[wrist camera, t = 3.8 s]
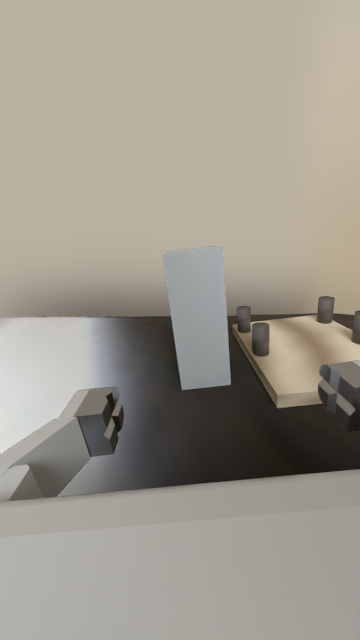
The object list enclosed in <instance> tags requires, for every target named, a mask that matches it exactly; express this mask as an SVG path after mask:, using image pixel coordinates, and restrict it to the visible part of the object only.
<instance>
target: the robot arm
mask: <svg viewBox="0 0 360 640" xmlns="http://www.w3.org/2000/svg"><path fill="white" fill-rule="evenodd" d="M319 375H320V376H321V377H322V378H323V379H322V380H321V381H320V382H319V384H318V394H319V397H320V400H321V402H322V403H323V405H324V406H325V407H326V408H327V409H329V410H331V411H333V412H335V418H336V419H337V420H338V422H339V423H340V424H341V425H342V426H343V427H344V428H345V429H346V430H347V431H360V360H355V361H348V362H342V363H333V364H325V365H322V366H321V367H320V372H319ZM119 396H120V395H119V391H118V388H117V387H105V388H93V389H83V390H79V391H77V392H76V393H75V395H74V396H73V398H72V399H71V401H70V402H69V404H68V405H67V407H66V408H65V409H64V411H63V412H62V414H61V415H60V417H59V418H58V419H54V420H52V421H50V422H49V423H47V424H46V425H44V426H43V427H41V428H40V429H38V430H37V431H35V432H34V433H32V434H31V435H29V436H28V437H26V438H25V439H23V440H22V441H20V442H19V443H17V444H16V445H14V446H13V447H11V448H10V449H8V450H7V451H5V452H4V453H2V454H1V455H0V640H360V469H356V470H345V471H334V472H323V473H312V474H300V475H290V476H279V477H268V478H257V479H246V480H235V481H224V482H214V483H203V484H192V485H181V486H170V487H159V488H148V489H137V490H126V491H115V492H105V493H94V494H83V495H72V496H61V497H57V495H58V494H59V493H60V492H61V491H62V490H63V489H64V488H65V486H66V485H67V484H68V483H69V482H70V481H71V480H72V479H73V477H74V476H75V475H76V474H77V473H78V472H79V471H80V470H81V469H82V467H83V466H84V465H85V464H86V463H87V462H88V461H89V460H90V457H94V456H102V455H110V454H114V451H115V448H116V445H117V442H118V435H117V433H118V432H119V431H120V430H121V429H122V425H123V418H124V414H123V407H122V404H121V403H120V402H118V398H119Z"/></svg>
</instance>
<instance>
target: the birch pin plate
mask: <svg viewBox="0 0 360 640" xmlns="http://www.w3.org/2000/svg"><path fill="white" fill-rule="evenodd" d="M334 299H335V298H334V297H328V296H326V297H325V296H324V297H319V302H318V314H317V315H311V316H302V317H293V318H285V319H276V320H268V321H259V322H251V312H250V311H251V310H250V307H248V306H241V307H237V324H233V325H232V333H233V335H234V336H235V338H236V340H237V341H238V343H239V345H240V346H241V348H242V350H243V351H244V353H245V355H246V357H247V358H248V360H249V362H250V363H251V365H252V367H253V368H254V370H255V372H256V373H257V375H258V377H259V378H260V380H261V382H262V383H263V385H264V387H265V388H266V390H267V392H268V393H269V395H270V397H271V399H272V400H273V402H274V404H275V405H276V407H277V408H284V407H294V406H303V405H313V404H323V403H322V402H321V400H320V397H319V394H318V384H319V382H320V381H321V380H322V379H323V378H322V377H321V376H320V375H319V372H320V367H321V366H322V365H325V364H333V363H342V362H348V361H355V360H360V311H356V312H355V317H354V324H353V331H352V330H350V329H348V328H346V327H344V326H342V325H340V324H338V323H336V322H335V321H333V320H332V318H333V308H334Z"/></svg>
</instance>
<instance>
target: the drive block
mask: <svg viewBox="0 0 360 640" xmlns="http://www.w3.org/2000/svg"><path fill="white" fill-rule="evenodd" d="M223 258H224V257H223V247H216V246H208V247H200V248H192V249H184V250H177V251H169V252H166V253H164V254H163V263H164V268H165V269H164V270H165V276H166V284H167V290H168V297H169V304H170V311H171V318H172V325H173V332H174V339H175V346H176V353H177V360H178V367H179V374H180V381H181V388H182V390H187V389H196V388H205V387H215V386H224V385H231V379H230V361H229V344H228V327H227V309H226V292H225V276H224V259H223Z"/></svg>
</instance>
